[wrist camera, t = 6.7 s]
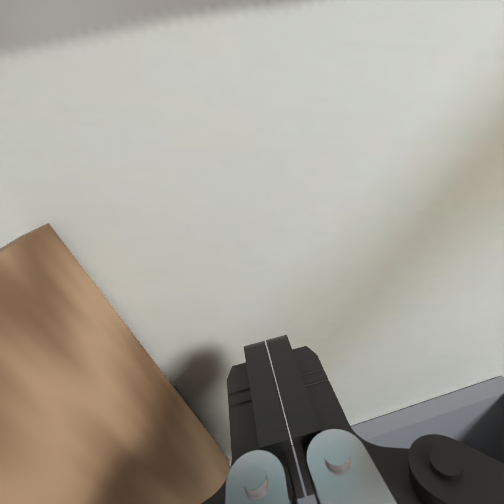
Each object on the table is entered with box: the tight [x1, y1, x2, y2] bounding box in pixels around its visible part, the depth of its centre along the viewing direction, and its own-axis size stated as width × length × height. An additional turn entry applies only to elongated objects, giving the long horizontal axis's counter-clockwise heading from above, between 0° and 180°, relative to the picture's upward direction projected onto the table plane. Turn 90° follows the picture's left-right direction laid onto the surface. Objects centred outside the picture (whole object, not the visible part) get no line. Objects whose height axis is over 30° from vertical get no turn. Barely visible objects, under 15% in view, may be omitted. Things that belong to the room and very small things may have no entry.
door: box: [0, 223, 230, 504], centre depth 11 cm, size 16×2×9 cm, turn 23°
